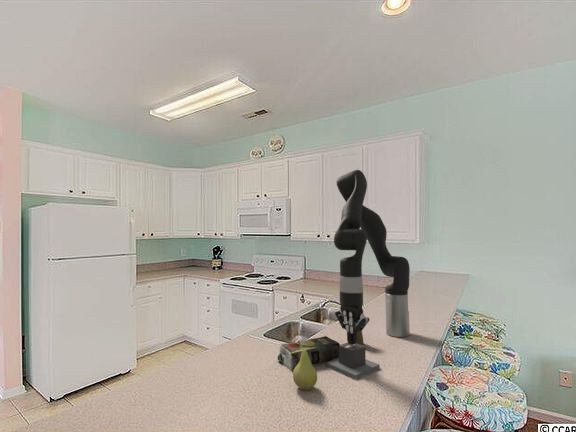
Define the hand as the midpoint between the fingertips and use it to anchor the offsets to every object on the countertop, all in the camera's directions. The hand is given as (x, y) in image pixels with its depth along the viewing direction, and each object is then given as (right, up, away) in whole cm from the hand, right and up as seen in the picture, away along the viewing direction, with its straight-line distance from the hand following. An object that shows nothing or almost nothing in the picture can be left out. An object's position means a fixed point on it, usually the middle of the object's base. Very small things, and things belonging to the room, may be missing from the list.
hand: (352, 343), depth 99 cm
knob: (0, -6, 0) cm, 6 cm away
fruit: (-16, -7, -14) cm, 22 cm away
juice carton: (-14, -8, +6) cm, 17 cm away
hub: (0, -7, -1) cm, 7 cm away
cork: (+6, -9, +21) cm, 23 cm away
